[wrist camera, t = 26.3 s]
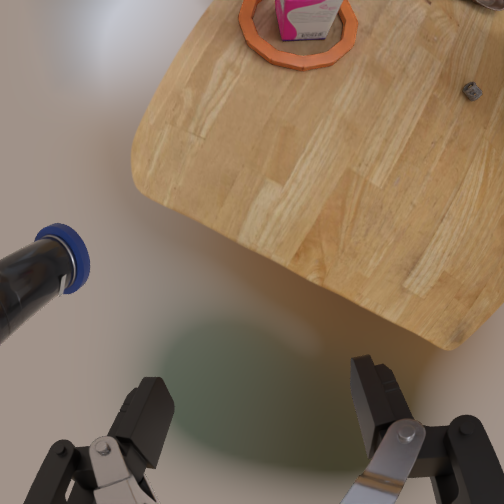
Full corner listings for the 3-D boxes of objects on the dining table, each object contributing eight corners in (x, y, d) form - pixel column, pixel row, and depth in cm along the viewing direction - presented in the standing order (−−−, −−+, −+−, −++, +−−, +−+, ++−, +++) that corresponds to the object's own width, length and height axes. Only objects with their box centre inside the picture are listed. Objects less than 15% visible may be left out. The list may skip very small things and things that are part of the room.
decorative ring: (466, 82, 29) (478, 79, 26) (474, 91, 29) (485, 89, 26) (459, 93, 29) (471, 90, 27) (467, 102, 30) (479, 100, 27)
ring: (260, 81, 32) (259, 78, 30) (227, -6, 27) (226, -11, 26) (369, 60, 30) (373, 57, 28) (330, -23, 25) (332, -29, 24)
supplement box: (317, 5, 27) (332, -40, 17) (325, 40, 29) (346, 1, 18) (273, 6, 28) (274, -40, 17) (280, 42, 30) (285, 1, 19)
